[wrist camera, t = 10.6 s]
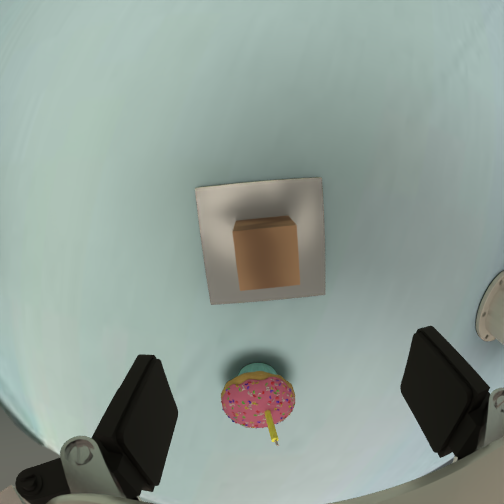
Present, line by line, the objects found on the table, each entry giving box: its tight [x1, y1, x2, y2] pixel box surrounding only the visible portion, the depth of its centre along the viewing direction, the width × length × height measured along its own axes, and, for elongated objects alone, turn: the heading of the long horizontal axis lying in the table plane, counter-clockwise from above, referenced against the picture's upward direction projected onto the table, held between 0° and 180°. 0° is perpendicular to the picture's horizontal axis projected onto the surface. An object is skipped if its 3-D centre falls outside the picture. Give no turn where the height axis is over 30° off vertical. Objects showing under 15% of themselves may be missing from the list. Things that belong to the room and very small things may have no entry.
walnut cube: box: [232, 216, 300, 291], centre depth 25 cm, size 5×5×5 cm
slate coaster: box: [195, 177, 325, 305], centre depth 28 cm, size 12×12×1 cm
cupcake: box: [221, 363, 295, 446], centre depth 27 cm, size 9×8×12 cm
